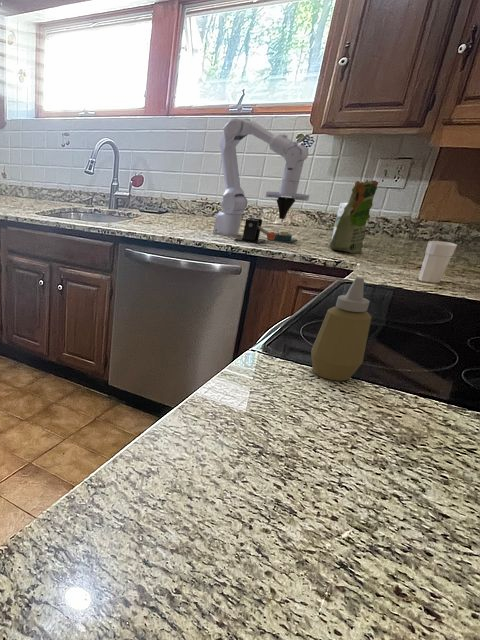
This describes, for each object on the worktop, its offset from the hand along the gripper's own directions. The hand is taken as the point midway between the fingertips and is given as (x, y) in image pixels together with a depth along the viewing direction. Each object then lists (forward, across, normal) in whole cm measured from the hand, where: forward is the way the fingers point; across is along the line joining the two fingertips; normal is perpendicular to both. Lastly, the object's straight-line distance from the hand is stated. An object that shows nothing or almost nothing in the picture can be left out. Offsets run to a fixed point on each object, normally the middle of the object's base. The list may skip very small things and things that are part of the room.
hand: (281, 218), depth 198 cm
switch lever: (+5, +5, +6) cm, 9 cm away
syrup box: (+10, -16, -24) cm, 31 cm away
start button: (+7, 0, -4) cm, 8 cm away
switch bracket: (+9, +8, +6) cm, 14 cm away
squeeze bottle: (+10, -48, +116) cm, 126 cm away
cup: (+10, -51, +22) cm, 56 cm away
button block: (+9, 0, -4) cm, 10 cm away
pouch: (+10, -22, -4) cm, 25 cm away
